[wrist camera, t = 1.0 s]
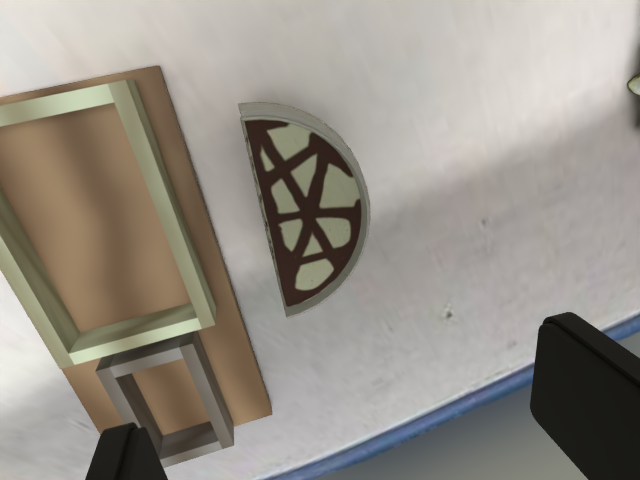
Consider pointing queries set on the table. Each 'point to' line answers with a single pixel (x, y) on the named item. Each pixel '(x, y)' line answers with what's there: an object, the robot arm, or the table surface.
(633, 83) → the passion flower
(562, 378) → the robot arm
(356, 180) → the food container
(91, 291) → the fitting board
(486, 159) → the table surface
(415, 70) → the table surface
